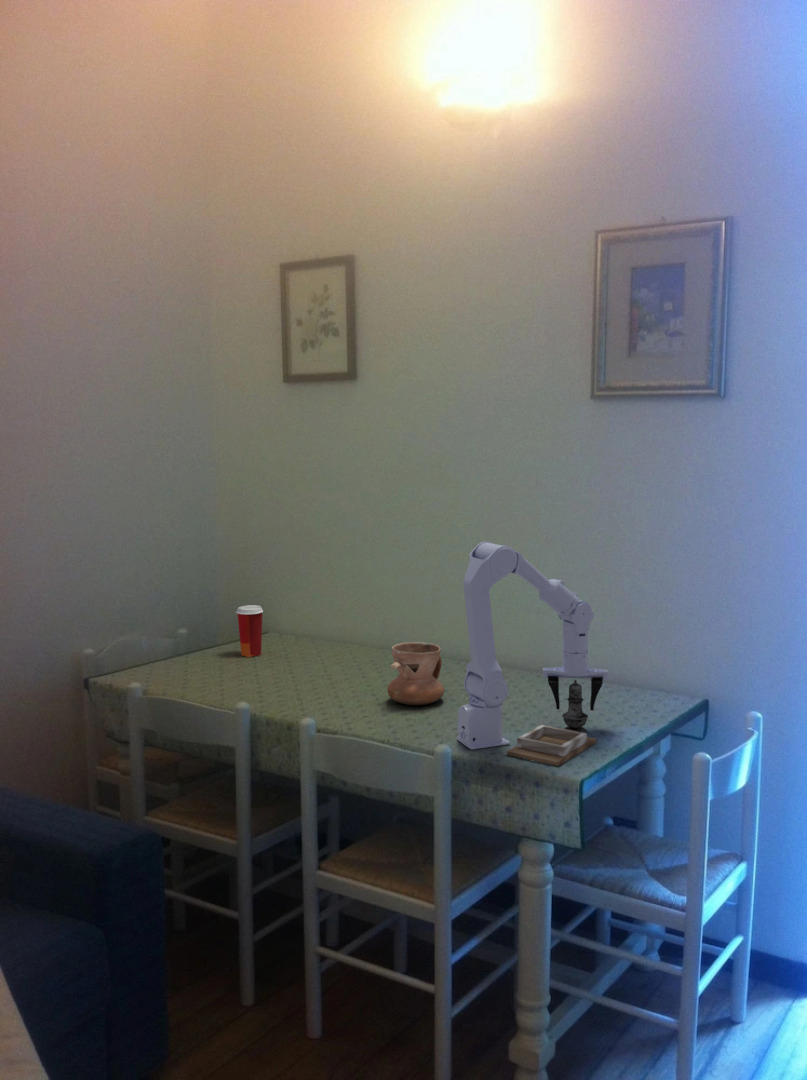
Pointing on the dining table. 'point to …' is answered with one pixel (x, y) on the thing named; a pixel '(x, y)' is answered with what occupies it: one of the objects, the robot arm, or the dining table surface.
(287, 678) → the dining table surface
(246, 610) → the coffee cup
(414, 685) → the ceramic jug
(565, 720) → the salt shaker
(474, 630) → the robot arm
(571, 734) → the board
